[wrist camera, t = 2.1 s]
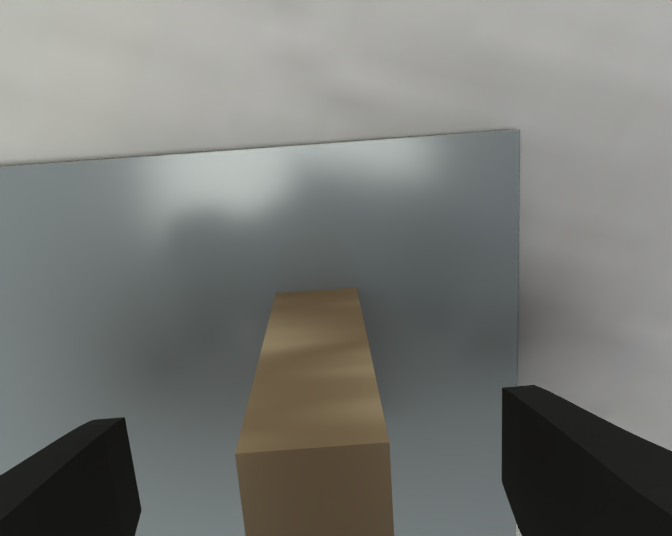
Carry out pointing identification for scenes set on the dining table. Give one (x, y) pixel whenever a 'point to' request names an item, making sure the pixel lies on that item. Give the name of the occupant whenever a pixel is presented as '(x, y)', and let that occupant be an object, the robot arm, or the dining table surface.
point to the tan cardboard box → (315, 425)
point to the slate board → (265, 310)
